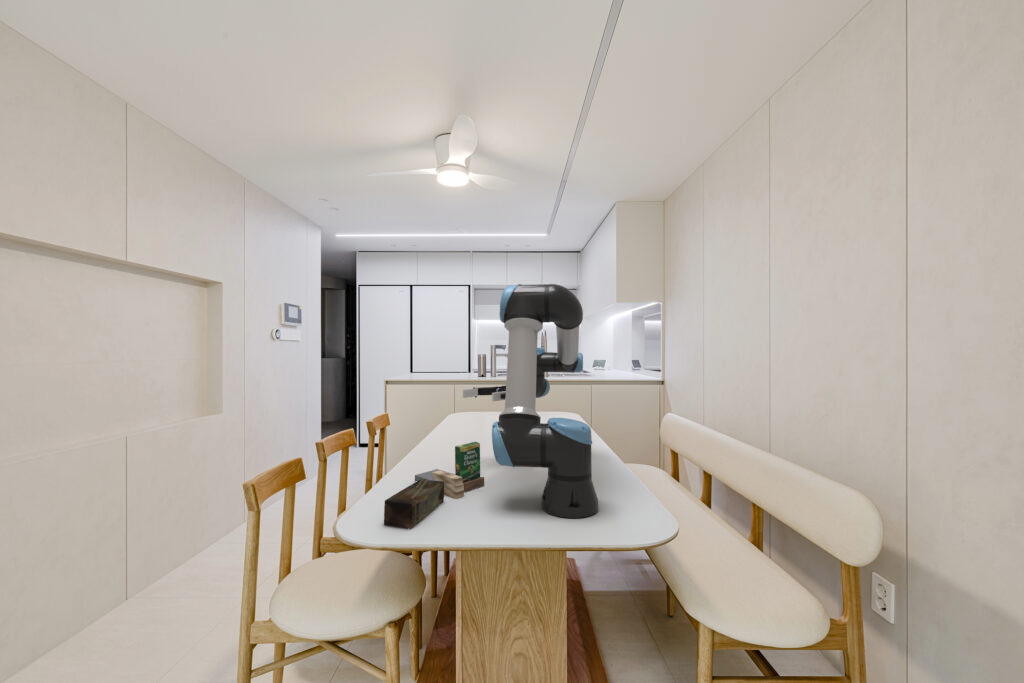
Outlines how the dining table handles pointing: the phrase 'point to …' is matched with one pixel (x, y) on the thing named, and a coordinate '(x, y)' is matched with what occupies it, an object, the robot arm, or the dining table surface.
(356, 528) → the dining table surface
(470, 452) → the coffee box
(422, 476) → the stand pad
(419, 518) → the beverage carton
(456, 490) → the offcut stack
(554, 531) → the dining table surface
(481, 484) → the walnut rack
